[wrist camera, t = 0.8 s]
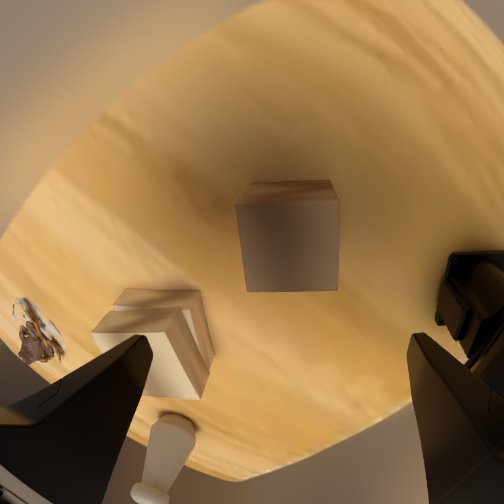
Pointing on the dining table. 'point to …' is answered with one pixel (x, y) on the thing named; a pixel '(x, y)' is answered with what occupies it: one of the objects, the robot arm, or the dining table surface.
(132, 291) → the beech slab lower
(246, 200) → the walnut cube
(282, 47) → the dining table surface
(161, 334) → the beech slab upper
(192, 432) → the salt shaker
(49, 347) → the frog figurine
